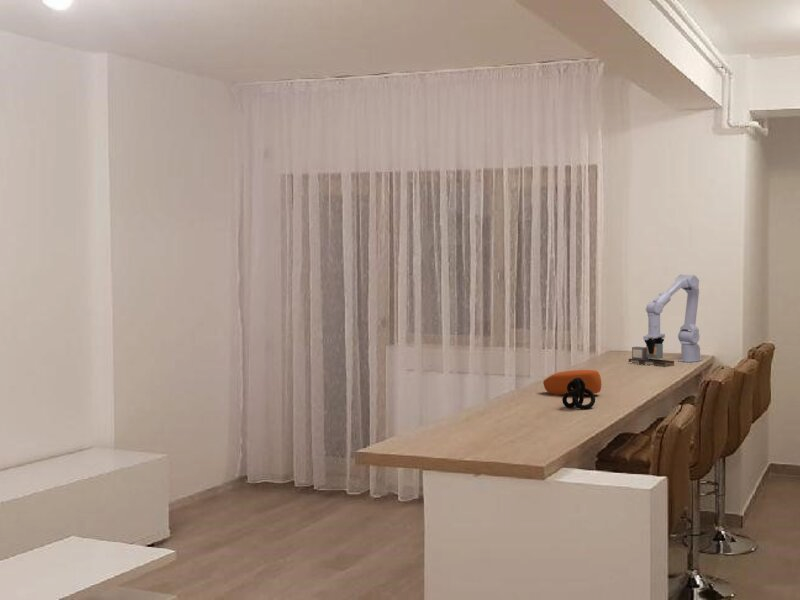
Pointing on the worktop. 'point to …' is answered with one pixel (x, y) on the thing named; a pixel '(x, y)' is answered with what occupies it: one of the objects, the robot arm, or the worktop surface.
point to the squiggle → (578, 394)
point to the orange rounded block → (560, 380)
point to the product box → (655, 352)
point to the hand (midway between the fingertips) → (654, 353)
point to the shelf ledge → (654, 362)
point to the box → (639, 353)
